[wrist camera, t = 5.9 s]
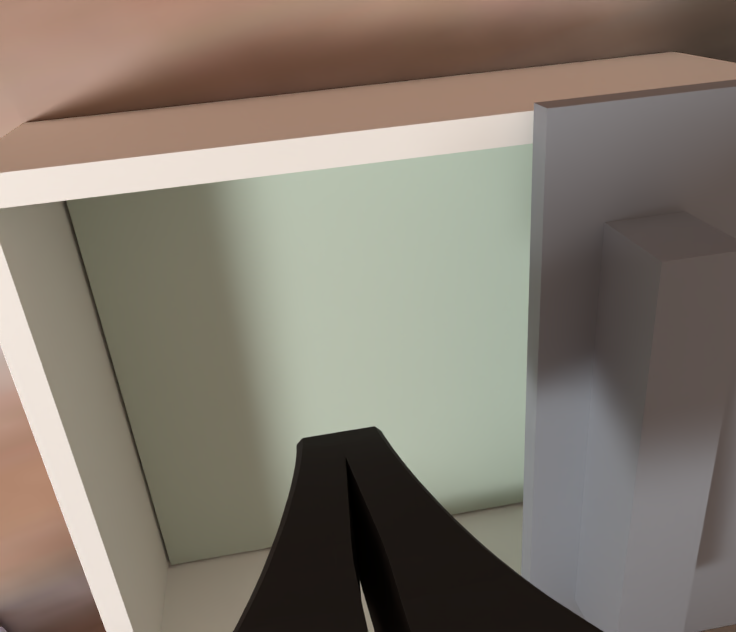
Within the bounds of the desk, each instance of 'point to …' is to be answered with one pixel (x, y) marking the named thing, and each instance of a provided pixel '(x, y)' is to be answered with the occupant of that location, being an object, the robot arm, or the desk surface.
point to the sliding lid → (633, 359)
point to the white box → (276, 312)
